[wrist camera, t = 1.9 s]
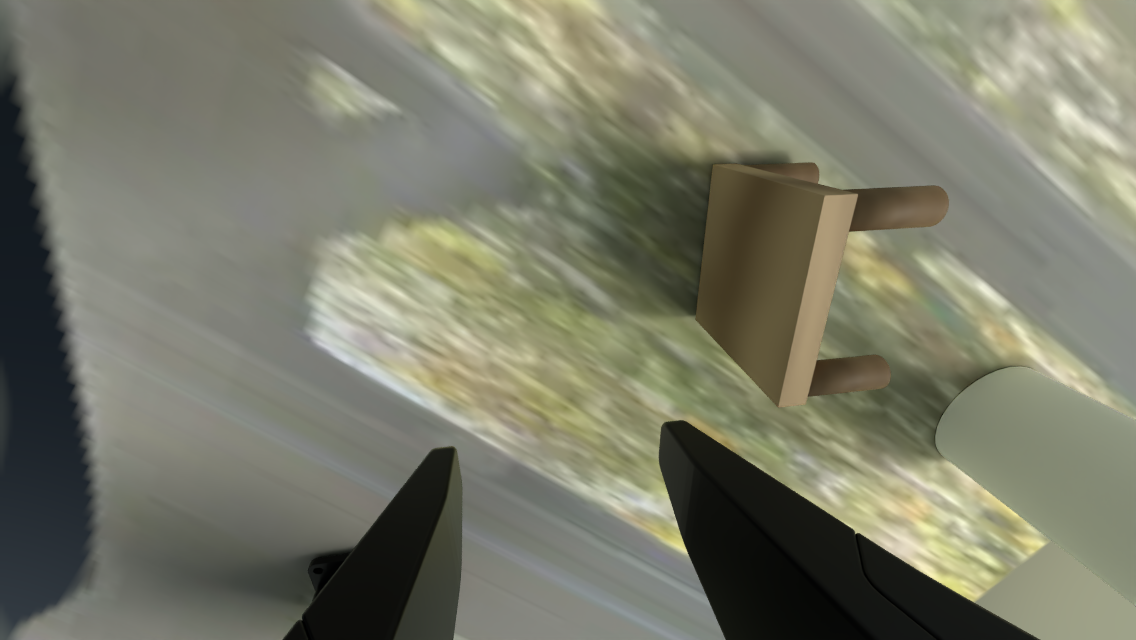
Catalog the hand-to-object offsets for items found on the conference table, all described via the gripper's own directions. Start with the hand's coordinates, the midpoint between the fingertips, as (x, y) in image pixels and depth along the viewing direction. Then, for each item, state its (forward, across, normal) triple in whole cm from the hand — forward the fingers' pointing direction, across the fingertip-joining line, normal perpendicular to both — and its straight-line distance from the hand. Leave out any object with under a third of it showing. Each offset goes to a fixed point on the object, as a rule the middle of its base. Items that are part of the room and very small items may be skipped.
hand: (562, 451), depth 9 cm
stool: (+8, -12, 0) cm, 15 cm away
